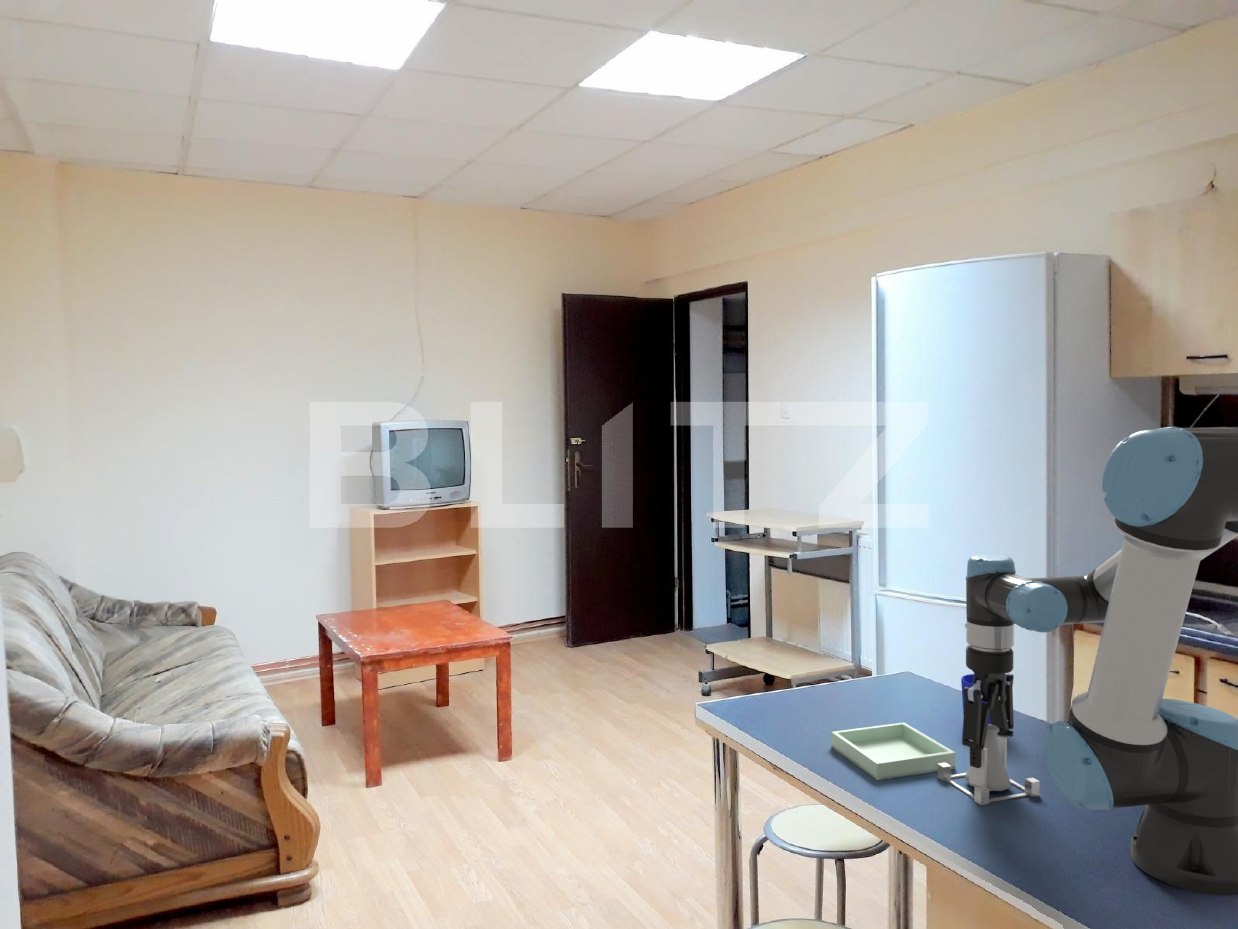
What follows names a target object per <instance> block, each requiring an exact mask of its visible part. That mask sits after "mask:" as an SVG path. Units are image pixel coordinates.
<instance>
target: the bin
mask: <svg viewBox="0 0 1238 929" xmlns="http://www.w3.org/2000/svg"><path fill="white" fill-rule="evenodd" d="M830 736H831V737H830V738H831V741H830V743H831V744H830V747H831V748H832V749H833V750H834V751H836V752H837V753H838V754H840V755H841V756H843V757H844V758H845V759H847V760H849V761H850V762H851V763H852V764H854V765H855V766H856V767H858V768H860V769H861V770H862V771H864V772H865V773H866V774H867V775H869V776H870V777H872V778H873V779H874V780H876V781H881V780H888V779H896V778H902V777H903V778H904V777H908V776H916V775H923V774H929V773H936V772H937V768H938V763H947V764H949V765H950V766H951V770H955V769H956V751H954V750H952V749H950V748H949V747H946V746H945V745H944V744H942V743H940V742H938V741H936V740H935V739H933V738H932V737H930V736H928V735H926V734H925V733H923V732H921V731H920V730H919V729H916V728H915V727H912V726H911V725H909V724H908V723H906V722H896V723H889V724H881V725H874V726H868V727H858V728H851V729H843V730H836V731H834V730H833V731H831V735H830Z"/></svg>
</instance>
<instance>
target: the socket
mask: <svg viewBox="0 0 1238 929" xmlns="http://www.w3.org/2000/svg"><path fill="white" fill-rule="evenodd" d="M966 773H967V772H962V773H956V774H952V769H951V766H950V765H949V764H947V763H938V768H937V778H938V779H939V780H941V781H942V782H947V783H948V784H950V785H952V787H955V788H956V789H958V790H959V791H961V792H962V793H964V794H966V795H967V796H969V797H970V798H971V799H973V800H974V802H975V803H976V804H978V805H979V806H985V805H989V804H990V803H993V802H1000V801H1006V800H1012V799H1018V798H1025V797H1031V798H1034V797H1035V798H1036V797H1039V796H1040V788H1041V787H1040V786H1041V783H1040V780H1038V779H1036V778H1034V777H1027V778H1024V786H1023V785H1021V784H1020V783H1018V782H1016V781H1015V780H1013V779H1011V778H1009V779H1010V782H1011V785H1012V786H1015V787H1016V788H1019V790H1022V791H1023V793H1017V794H1016V793H1015V794H1011V795H1010V794H1009V795H1004V796H999V797H998V796H997V797H991V798H990V791H989V789H988V788H986V787H985V786H983V785H982V786H976V787H974V791H973V792H974V794H973V793H972V792H970V791H969V790H968V789H966V788H964V787H962V786H961V785H959V784H958V783H956V782H955V781H953V780H952V779H955V778H956V779H957V778H961V777H962V778H963V777H965V776H966Z"/></svg>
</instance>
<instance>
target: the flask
mask: <svg viewBox="0 0 1238 929" xmlns="http://www.w3.org/2000/svg"><path fill="white" fill-rule="evenodd" d="M998 732H999V728H998V727H997V726H994V725H991V724H988V727H987V733H986V739H985V745H984V748H987V786H986V788H988V789H989V792H1003V791H1005V790H1008V789H1010V788H1012V787H1013V784H1011V782H1010V779H1011V778H1010V777H1009V775H1008V772H1007V771H1006V769H1005V766H1004V763H1003V760H1002V757H1001V755H1000V752H999V747H998V741H997V733H998ZM965 773H966V776H964V779H965V781H966V782H967V783H968V785H969V786H971V787H974V788H975V787H976V786H978V785H975V784H971V783H969V768H967V772H965Z"/></svg>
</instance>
